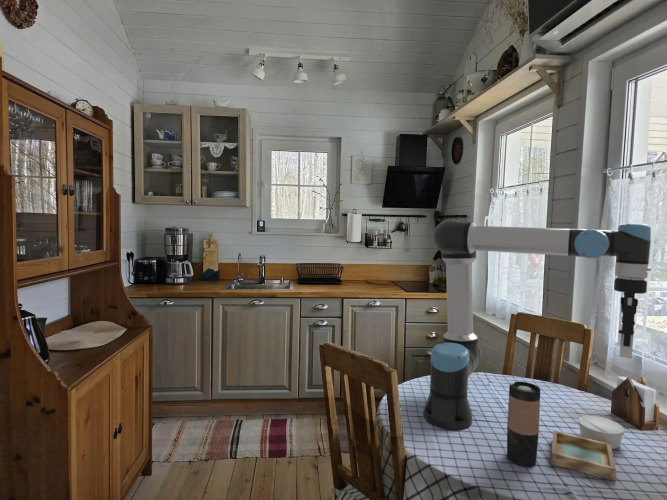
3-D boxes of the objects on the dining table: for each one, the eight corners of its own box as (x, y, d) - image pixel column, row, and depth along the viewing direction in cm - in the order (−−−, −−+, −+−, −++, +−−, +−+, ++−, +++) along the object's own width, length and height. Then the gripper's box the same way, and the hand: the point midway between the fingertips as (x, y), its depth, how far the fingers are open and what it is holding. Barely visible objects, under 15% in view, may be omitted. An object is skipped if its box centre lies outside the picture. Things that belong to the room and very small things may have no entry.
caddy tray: (551, 463, 107) (551, 452, 107) (552, 440, 119) (553, 430, 119) (615, 481, 100) (616, 469, 100) (610, 454, 112) (610, 443, 112)
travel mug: (540, 469, 104) (544, 393, 103) (509, 465, 106) (512, 390, 105) (532, 453, 112) (536, 382, 111) (503, 450, 113) (506, 380, 112)
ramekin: (572, 440, 119) (573, 423, 119) (583, 428, 127) (584, 411, 127) (618, 456, 111) (619, 438, 111) (626, 442, 119) (627, 424, 119)
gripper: (649, 284, 103) (643, 366, 104) (645, 275, 123) (640, 344, 124) (614, 281, 107) (608, 359, 108) (615, 273, 127) (610, 339, 129)
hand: (625, 351), depth 116 cm, fingers open, 13 cm apart
